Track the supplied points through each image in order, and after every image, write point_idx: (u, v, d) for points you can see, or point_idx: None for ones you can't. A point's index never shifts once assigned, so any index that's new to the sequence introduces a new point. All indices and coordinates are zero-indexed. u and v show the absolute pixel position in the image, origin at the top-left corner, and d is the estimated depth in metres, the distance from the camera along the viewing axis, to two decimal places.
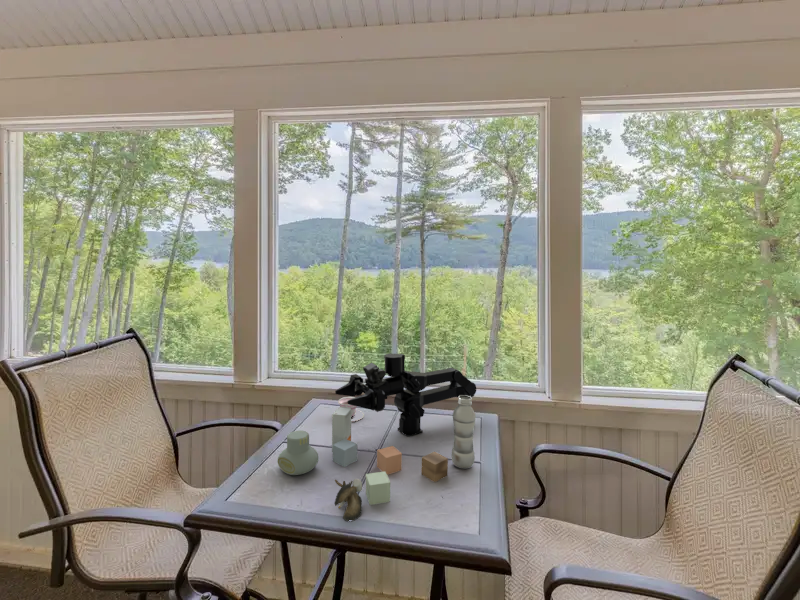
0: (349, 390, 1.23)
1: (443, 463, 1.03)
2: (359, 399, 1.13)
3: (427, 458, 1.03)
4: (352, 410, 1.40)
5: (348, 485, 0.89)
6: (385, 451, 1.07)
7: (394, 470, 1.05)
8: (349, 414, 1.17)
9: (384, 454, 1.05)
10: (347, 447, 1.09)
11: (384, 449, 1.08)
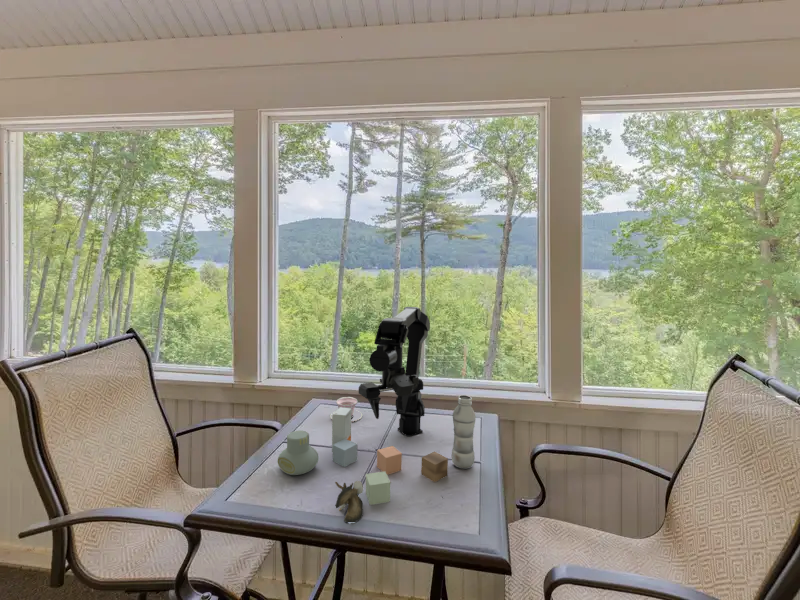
0: None
1: (443, 463, 1.03)
2: None
3: (427, 458, 1.03)
4: None
5: (349, 487, 0.88)
6: (385, 451, 1.07)
7: (394, 470, 1.05)
8: (349, 414, 1.17)
9: (384, 454, 1.05)
10: (347, 447, 1.09)
11: (384, 449, 1.08)
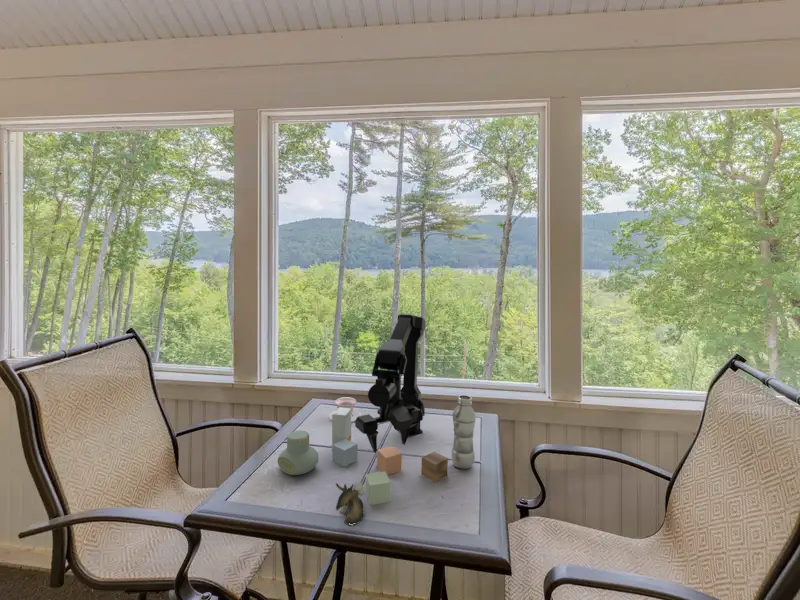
0: None
1: (443, 463, 1.03)
2: None
3: (427, 458, 1.03)
4: None
5: (349, 489, 0.88)
6: (385, 451, 1.07)
7: (394, 470, 1.05)
8: (349, 414, 1.17)
9: (384, 454, 1.05)
10: (347, 447, 1.09)
11: (384, 449, 1.08)
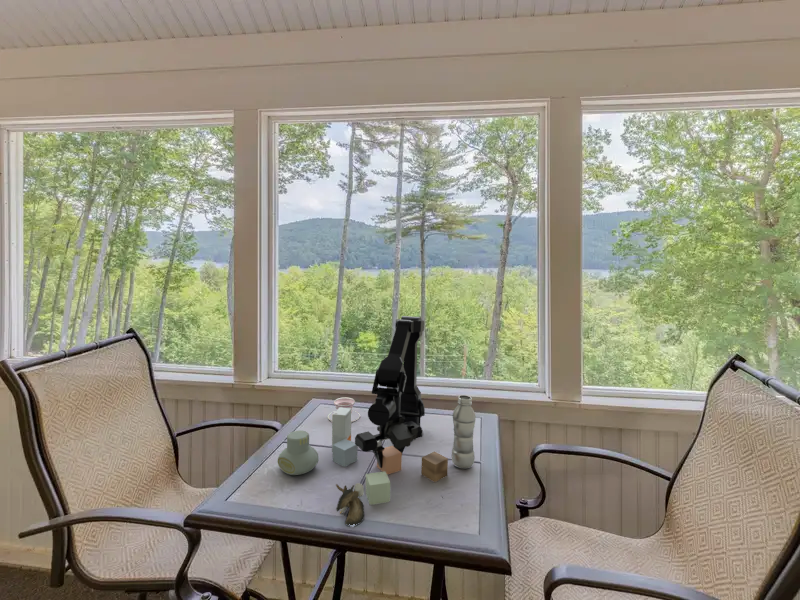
0: None
1: (443, 463, 1.03)
2: None
3: (427, 458, 1.03)
4: None
5: (350, 490, 0.87)
6: (385, 451, 1.07)
7: (394, 470, 1.05)
8: (349, 414, 1.17)
9: (384, 454, 1.05)
10: (347, 447, 1.09)
11: (384, 449, 1.08)
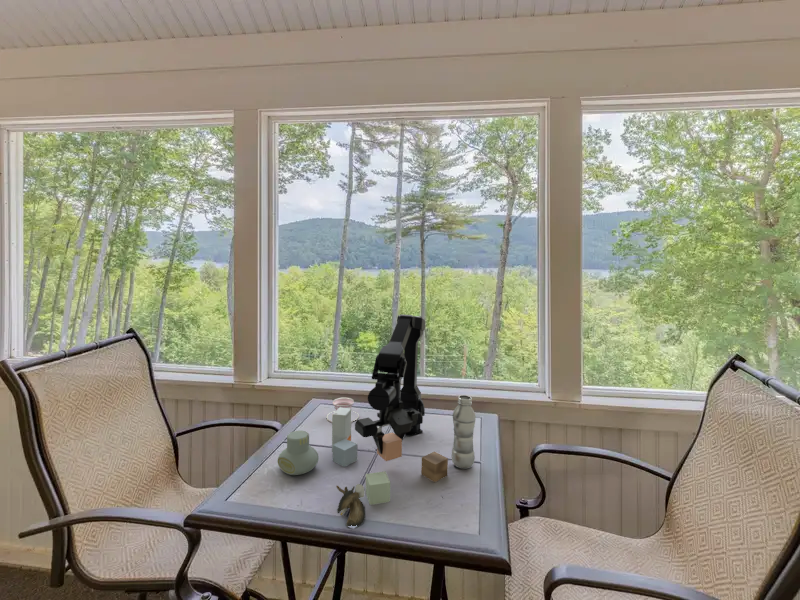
0: None
1: (443, 463, 1.03)
2: None
3: (427, 458, 1.03)
4: None
5: (351, 491, 0.87)
6: (385, 437, 1.06)
7: (394, 456, 1.05)
8: (349, 414, 1.17)
9: (384, 440, 1.05)
10: (347, 447, 1.09)
11: (384, 435, 1.07)
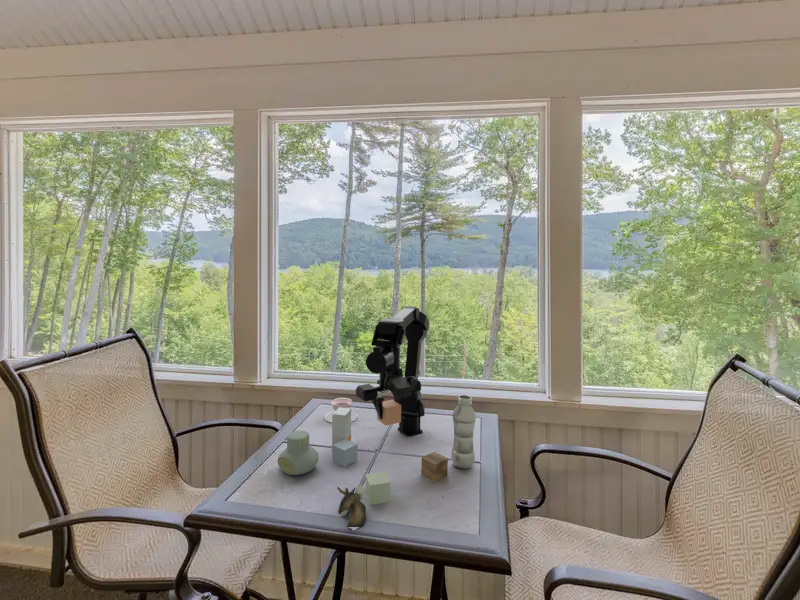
0: None
1: (443, 463, 1.03)
2: None
3: (427, 458, 1.03)
4: None
5: (351, 492, 0.86)
6: (385, 403, 1.10)
7: (394, 421, 1.08)
8: (349, 414, 1.17)
9: (384, 405, 1.08)
10: (347, 447, 1.09)
11: (384, 402, 1.11)
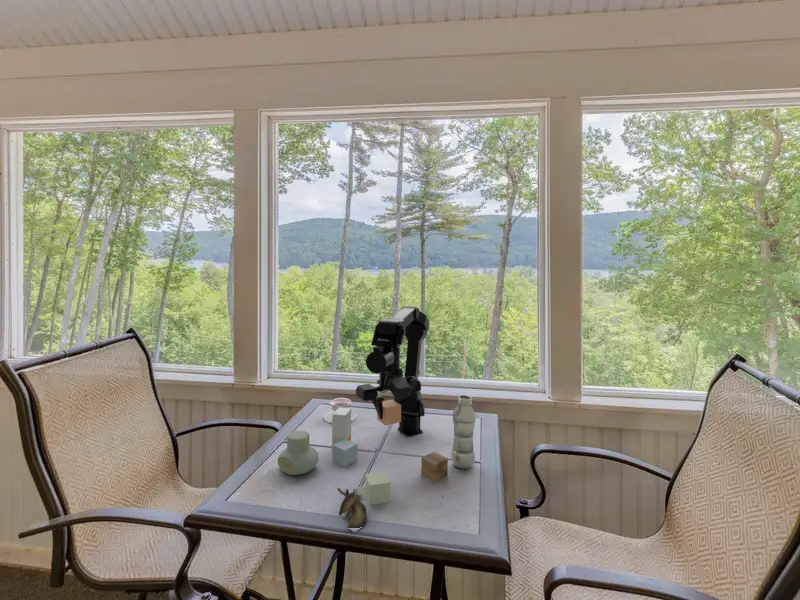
0: None
1: (443, 463, 1.03)
2: None
3: (427, 458, 1.03)
4: None
5: (352, 494, 0.86)
6: (385, 403, 1.10)
7: (394, 421, 1.08)
8: (349, 414, 1.17)
9: (384, 405, 1.08)
10: (347, 447, 1.09)
11: (384, 402, 1.11)
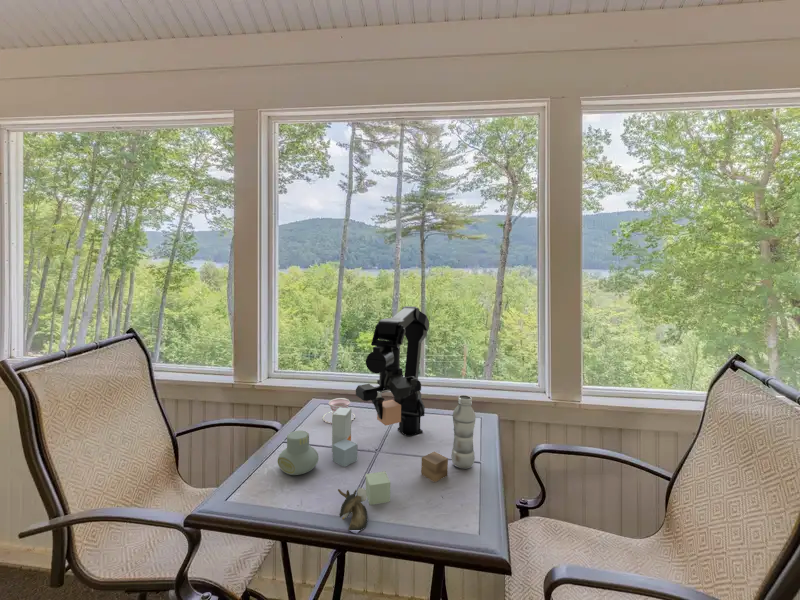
0: None
1: (443, 463, 1.03)
2: None
3: (427, 458, 1.03)
4: None
5: (353, 495, 0.85)
6: (385, 403, 1.10)
7: (394, 421, 1.08)
8: (349, 414, 1.17)
9: (384, 405, 1.08)
10: (347, 447, 1.09)
11: (384, 402, 1.11)
